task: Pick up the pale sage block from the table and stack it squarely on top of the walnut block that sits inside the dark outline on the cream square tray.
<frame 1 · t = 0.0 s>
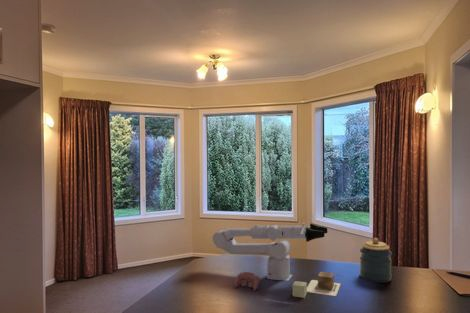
hand: (325, 232, 156), 22 cm above the counter, tool horizontal, fingers open, 7 cm apart
cream square tray: (323, 288, 151), on the counter
video game controller: (247, 288, 153), on the counter
walnut block: (326, 286, 152), point 1 cm above the counter, touching cream square tray
sage block: (299, 296, 144), on the counter
canister: (375, 278, 163), on the counter
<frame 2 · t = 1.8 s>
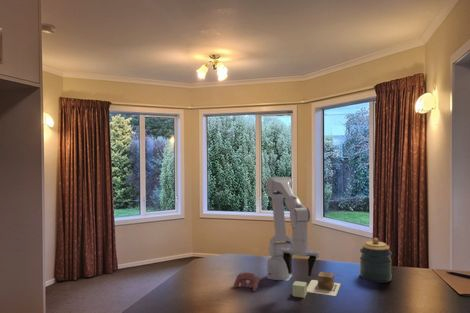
hand: (299, 274, 143), 9 cm above the counter, tool pointing down, fingers open, 7 cm apart
nothing on the counter moved.
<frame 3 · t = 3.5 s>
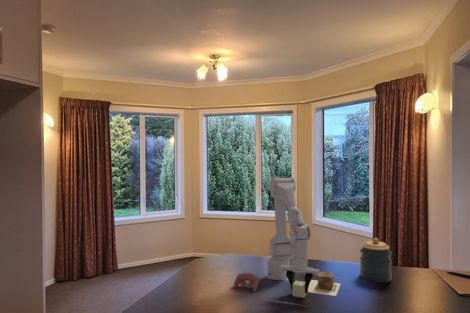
hand: (299, 291, 144), 2 cm above the counter, tool pointing down, fingers closed on sage block, 4 cm apart
sage block: (299, 296, 144), on the counter, touching gripper
everything else where it was.
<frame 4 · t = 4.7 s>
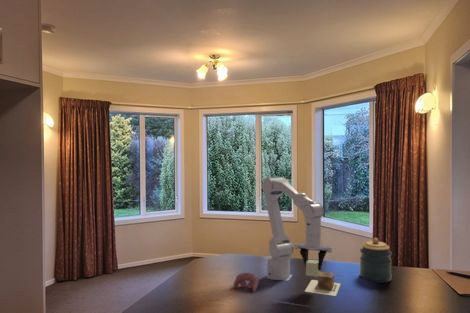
hand: (313, 268, 147), 9 cm above the counter, tool pointing down, fingers closed on sage block, 4 cm apart
sage block: (313, 274, 147), point 7 cm above the counter, touching gripper
everything else where it was.
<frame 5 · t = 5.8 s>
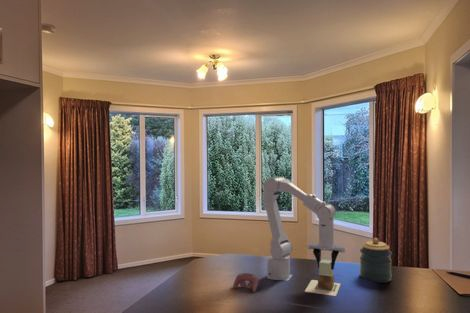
hand: (326, 268, 152), 8 cm above the counter, tool pointing down, fingers closed on sage block, 4 cm apart
sage block: (325, 273, 151), point 6 cm above the counter, touching gripper
when the fingers open (8 cm above the counter, at t = 6.3 s): sage block stays where it is, resting on walnut block.
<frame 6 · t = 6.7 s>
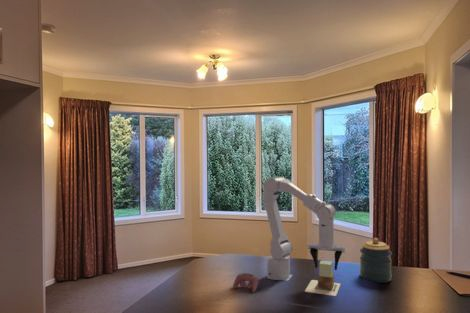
hand: (326, 268, 152), 8 cm above the counter, tool pointing down, fingers open, 7 cm apart
walnut block: (326, 286, 152), point 1 cm above the counter, touching cream square tray, sage block
sage block: (325, 274, 151), point 6 cm above the counter, touching walnut block
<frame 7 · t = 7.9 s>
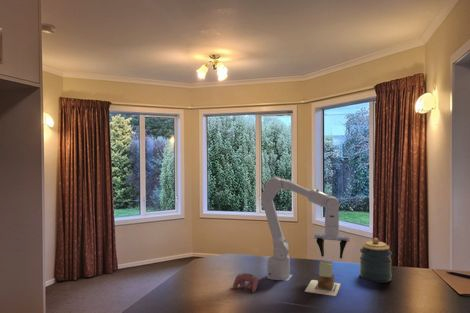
hand: (331, 257, 159), 10 cm above the counter, tool pointing down, fingers open, 7 cm apart
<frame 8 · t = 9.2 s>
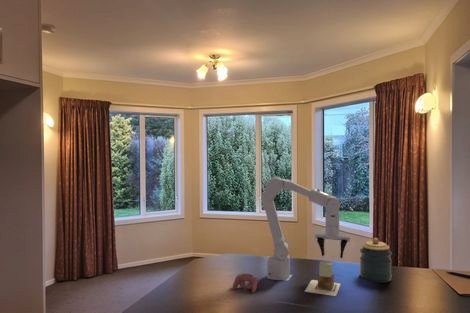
hand: (332, 256, 160), 10 cm above the counter, tool pointing down, fingers open, 7 cm apart
at the end: sage block 0.4 cm off-centre on the walnut block, point 5.0 cm above the walnut block's base; sage block tilted 0°; the gripper is holding nothing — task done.
